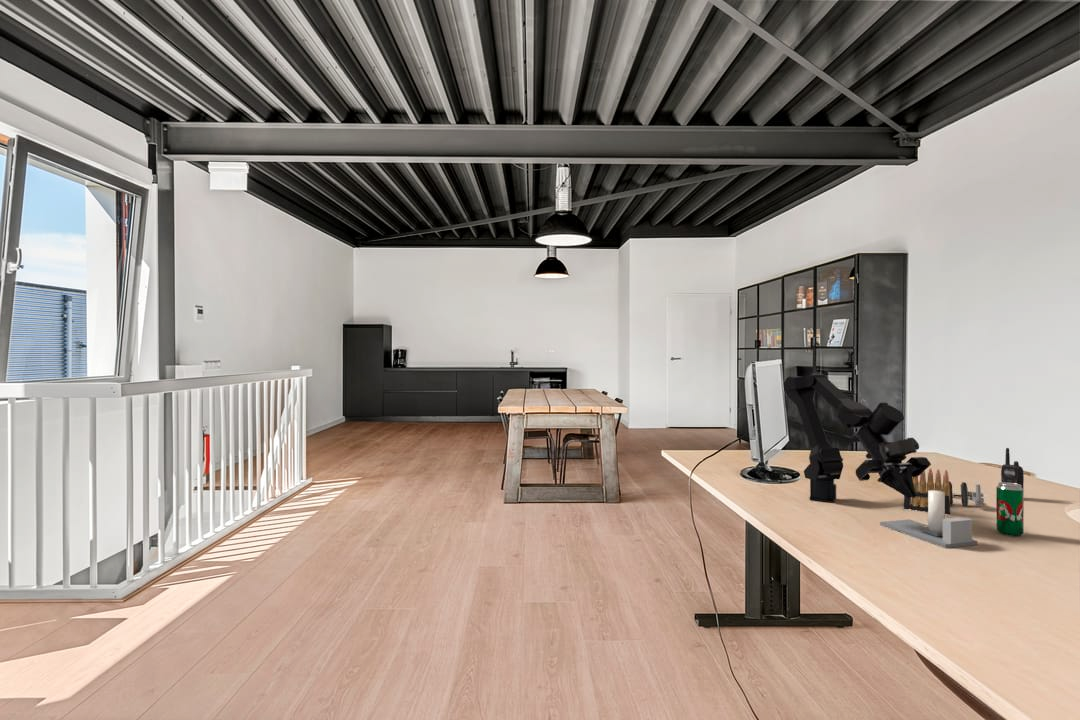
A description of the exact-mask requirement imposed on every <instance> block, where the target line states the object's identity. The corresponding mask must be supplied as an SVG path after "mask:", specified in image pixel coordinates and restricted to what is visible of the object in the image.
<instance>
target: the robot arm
mask: <svg viewBox="0 0 1080 720" xmlns="http://www.w3.org/2000/svg"><path fill="white" fill-rule="evenodd" d="M783 390H784V391H785V394H786V395H787V398H788V399H789V400H790V401H792V403H793V404H794V405H796V408H797V411H798V414H799V416H800V419H801V422H802V425H803V427H804V431H805V434H806V437H807V440H808V443H809V446H810V452H809V456H808V458H809V459H808V460H809V464H808V465H807V466H806V467H805V469H804V470H803V474H804V478H805V479H808V480H809V485H810V486H809V493H810V494H809V495H810V496H809V497H808V499H809V500H810V501H818V502H826V503H827V502H829V503H835V500H836V499H837V484H836V483H835V480H840V479H841V474H842V472H843V468H844V463H843V461H844V458H843V457H842V455H841V452H840V449H839V448H838V447H837V446H836V447H833V446H831V445H830V443H829V442H828V438H827V436H826V433H825V430H824V428H823V424H822V422H821V419H820V416H819V414H818V411H817V408H816V405H815V403H814V398H815V394H816V393H817V394H819V396H820V397H822V399H824V401H826V402H827V404H829V405H830V406H831V407H832V408H833V409H834V411H835V412H836V418H837V419H838V421H839V422H840V424H841V425H842V426H843V427H844V428H846V429H858V430H857V431H854V432H852V437H851V442H852V443H860V444H861V445H862V447H863V448H864V450H865V451H866V454H865V457H866V459H865V460H864V461H863V462H861V464H860V465H859V466H858V467H857V468H856V469H855V476H856V477H857V479H858V480H859V482H862V481H869V480H870V478H871V475H870V474H878V476H879V477H878V479H877V482H878V483H882V484H883V485H886V486H888V487H890V488H892V490H895V491H896V492H898V493H900V494H901V495H903V497H904V496H906V497H908V498H911V499H912V498H915V497H916V491H915V488H914V484H913V480H912V477H917V476H918V477H920V474H921V473H922V472H924V471H925V472H926V470H927V469H928V468H930V466H931V465H932V464H931V462H930V461H929V459H928V458H927V457H924V456H914V457H912V456H911V457H910V458H909V459H908V460H907V461H906V462H902V461H905V460H906V459H907V458H908V457H907V455H909V454H910V455H911V454H915V453H917V452H918V451H917V450H919V448H920V444H919V442H918V441H917V440H916V439H915V438H914V437H907V438H905V439H900V440H895V441H892V442H891V441H888V440H887V439H886V437H885V436H889V435H891V434H892V433H893V432H894V431H895V430H896V428H897V427H898V426H900V425H901V424H902V422H903V421H904V420H905V416H904V414H903V412H902V411H901V410H899V409H897V408H896V407H894V406H891V405H889V403H888V402H879V403H878V404H877V406H876V408H875V409H874V410H873V411H872V410H871V409H870V408H869V407H867V406H865V405H864V404H862V403H860V402H858V401H855V400H852V399H851V398H849V397H848V396H847V395H846V394H845V393H844V392H843V391H841V389H839V387H837V386H836V385H835V384H834V383H833V382H832V381H831V380H829V378H828V376H827V375H826V374H824V373H810V374H806V375H801V376H798V375H797V376H796V375H795V376H787V377H786V379H785V381H784V382H783Z"/></svg>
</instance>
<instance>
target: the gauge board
mask: <svg viewBox="0 0 1080 720" xmlns="http://www.w3.org/2000/svg"><path fill="white" fill-rule="evenodd" d="M879 525H880V526H881V525H883V526H882V527H884V526H885V527H884V528H887V527H888V528H887V529H890V528H891V529H890V530H893V529H894V530H893V531H896V530H897V531H896V532H898V531H900V532H899V533H901V532H902V533H901V534H904V533H905V534H904V535H907V534H908V536H910V535H911V536H910V537H913V538H915V537H916V539H918V538H919V540H922V541H924V540H925V541H924V542H927V541H928V542H927V543H930V542H931V543H930V544H933V543H934V545H935V544H937V545H936V546H938V545H939V547H941V546H942V547H941V548H944V549H949V548H958V547H959V548H960V547H968V546H977V545H978V540H975V539H973V520H972V519H971V518H967V517H965V516H963V517H954V518H953V517H952V518H945V519H943V536H934V535H931V534H928V533H925V532H922V531H920V527H928V524H925V523H923V522H922V523H921V522H918V521H915V520H912V519H909V518H908V519H900V520H899V519H898V520H887V521H880V522H879Z"/></svg>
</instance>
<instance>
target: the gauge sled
mask: <svg viewBox="0 0 1080 720" xmlns="http://www.w3.org/2000/svg"><path fill="white" fill-rule="evenodd" d="M927 513H928V515H927V517H928V518H927V521H928V523H927V525H928V527H920V531H922V532H925V533H928V534H931V535H934V536H943V519H946V517H945V516H946V514H945V492H942V491H936V490H929V491H928V512H927Z"/></svg>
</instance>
